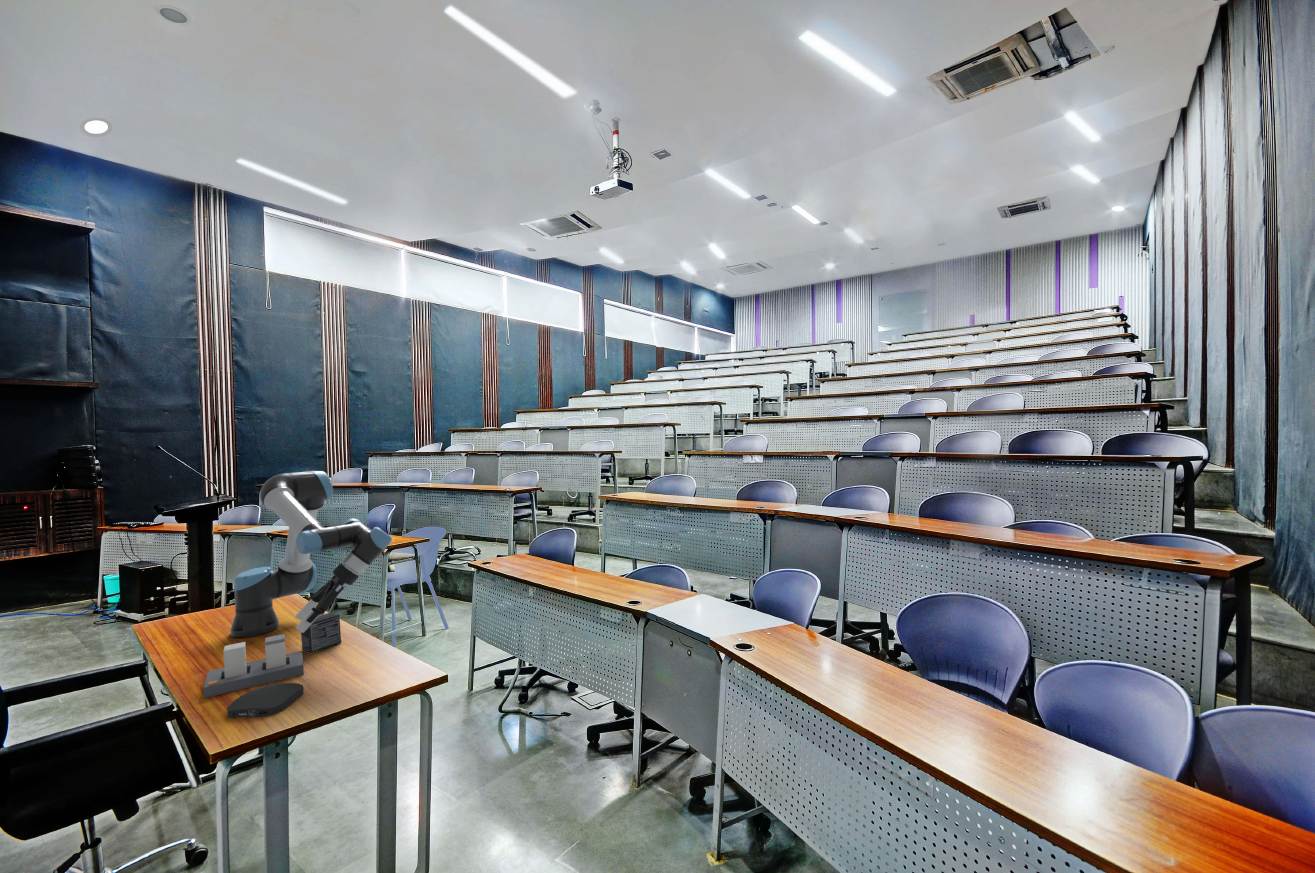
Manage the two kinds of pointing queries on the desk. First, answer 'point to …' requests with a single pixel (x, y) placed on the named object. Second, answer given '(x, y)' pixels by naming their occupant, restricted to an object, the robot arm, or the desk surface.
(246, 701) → the media streaming box
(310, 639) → the small box
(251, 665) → the gray slotted dock
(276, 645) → the white plug
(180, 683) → the desk surface
